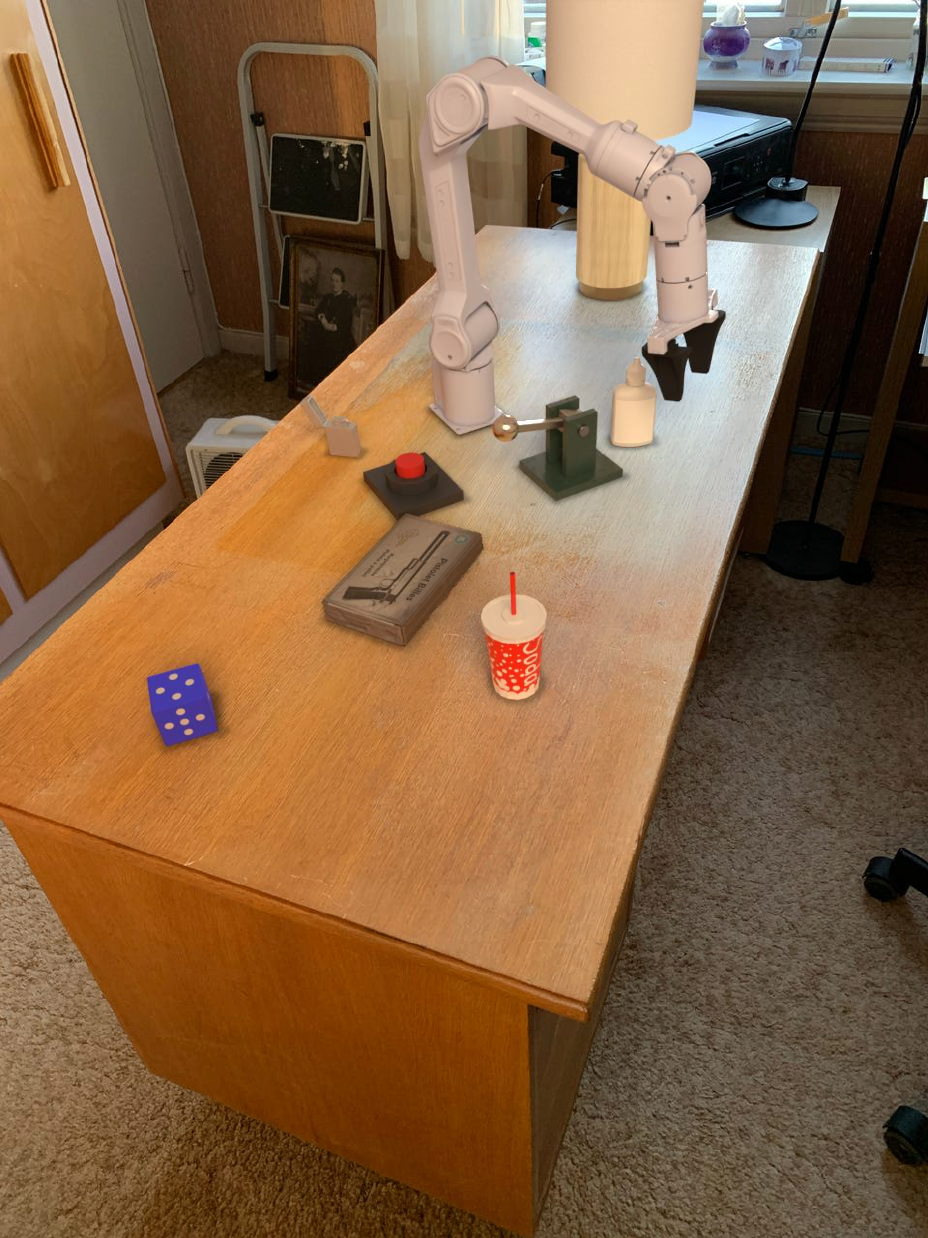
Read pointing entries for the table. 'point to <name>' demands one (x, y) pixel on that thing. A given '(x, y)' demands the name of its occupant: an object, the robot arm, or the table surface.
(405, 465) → the button
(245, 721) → the table surface
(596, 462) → the bracket
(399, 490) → the button box
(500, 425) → the lever
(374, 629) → the box
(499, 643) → the beverage cup
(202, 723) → the die
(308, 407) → the lighter
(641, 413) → the eye dropper bottle
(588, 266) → the lamp
